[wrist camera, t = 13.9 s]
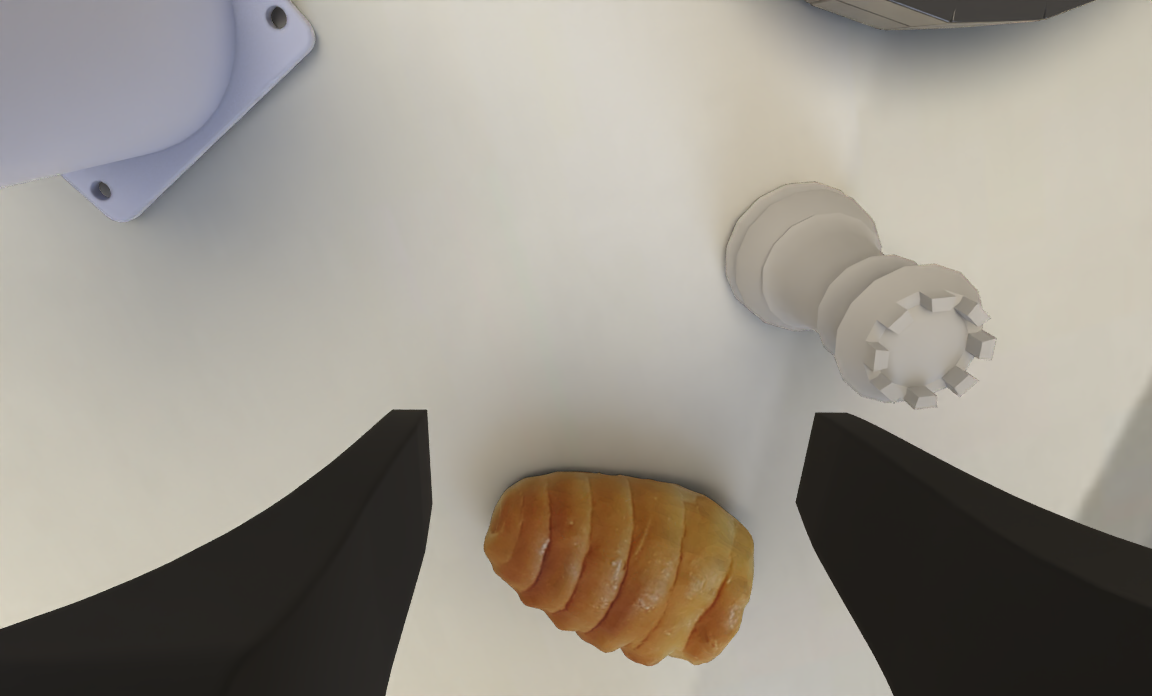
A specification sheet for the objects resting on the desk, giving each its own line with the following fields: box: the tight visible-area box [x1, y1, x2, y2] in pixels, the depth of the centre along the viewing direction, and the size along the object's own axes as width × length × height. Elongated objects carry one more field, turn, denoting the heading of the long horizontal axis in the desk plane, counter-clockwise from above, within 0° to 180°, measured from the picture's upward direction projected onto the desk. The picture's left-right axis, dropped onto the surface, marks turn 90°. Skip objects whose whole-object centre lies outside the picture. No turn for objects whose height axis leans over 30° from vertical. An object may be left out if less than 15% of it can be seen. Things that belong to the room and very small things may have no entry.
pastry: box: [484, 471, 754, 666], centre depth 23 cm, size 9×7×4 cm
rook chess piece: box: [726, 182, 997, 409], centre depth 17 cm, size 4×4×8 cm
